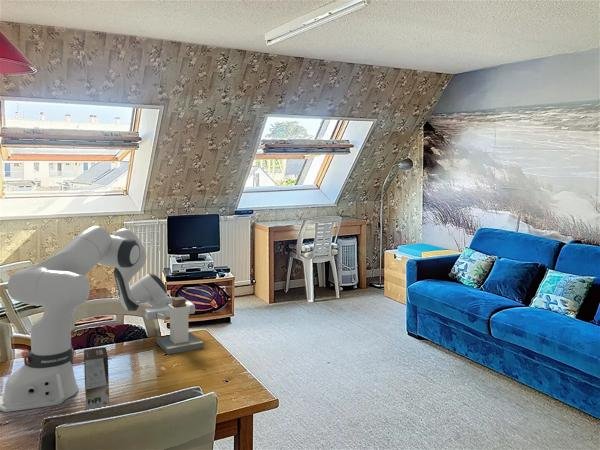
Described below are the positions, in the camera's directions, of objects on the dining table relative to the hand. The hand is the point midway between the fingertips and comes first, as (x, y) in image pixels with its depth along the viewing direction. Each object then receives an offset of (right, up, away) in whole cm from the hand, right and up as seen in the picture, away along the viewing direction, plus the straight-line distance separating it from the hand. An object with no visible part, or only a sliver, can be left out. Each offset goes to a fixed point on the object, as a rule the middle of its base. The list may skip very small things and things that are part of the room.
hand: (176, 316), depth 208 cm
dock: (+2, -11, -3) cm, 12 cm away
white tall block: (+2, -9, -3) cm, 10 cm away
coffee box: (-11, -17, -53) cm, 57 cm away
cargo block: (+2, +4, -5) cm, 7 cm away
